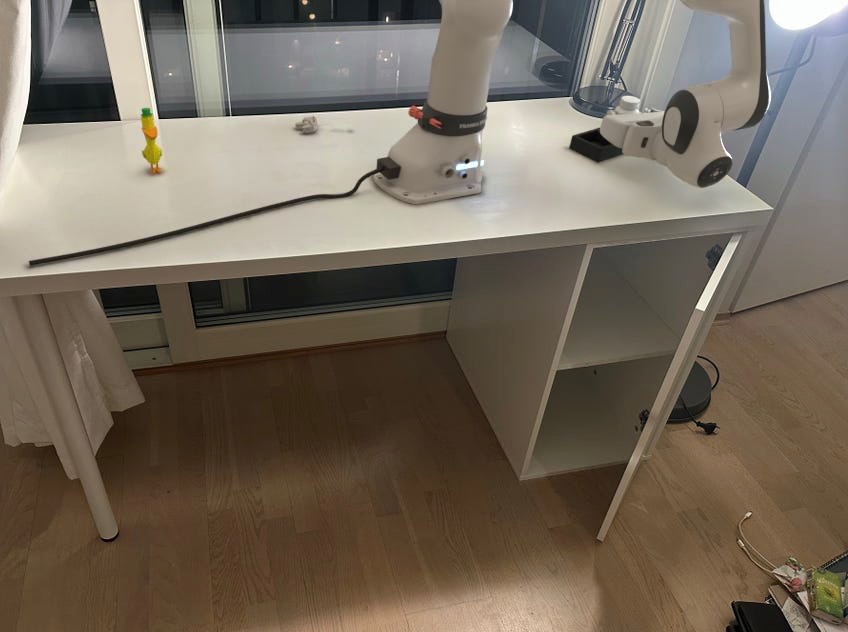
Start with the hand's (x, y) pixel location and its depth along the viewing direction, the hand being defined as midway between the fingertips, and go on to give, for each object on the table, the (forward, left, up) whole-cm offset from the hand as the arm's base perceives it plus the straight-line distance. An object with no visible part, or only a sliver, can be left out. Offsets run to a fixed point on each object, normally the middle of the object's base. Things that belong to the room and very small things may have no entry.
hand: (628, 112), depth 152 cm
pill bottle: (0, +1, -7) cm, 7 cm away
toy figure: (-92, +38, -8) cm, 100 cm away
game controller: (-53, +39, -8) cm, 66 cm away
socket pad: (-3, +1, -8) cm, 9 cm away
